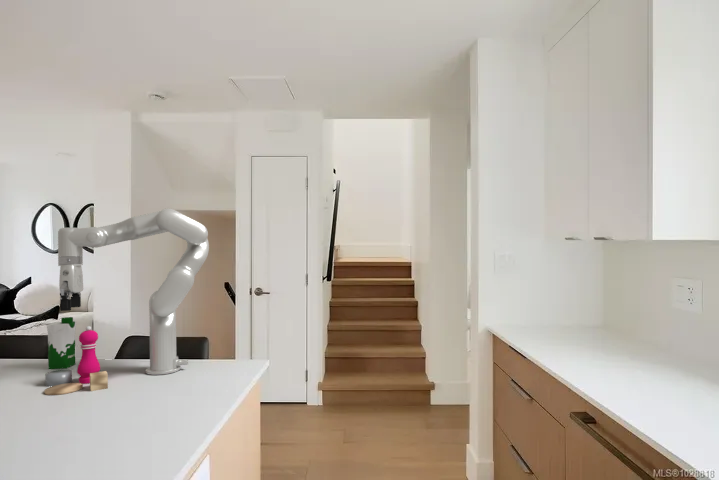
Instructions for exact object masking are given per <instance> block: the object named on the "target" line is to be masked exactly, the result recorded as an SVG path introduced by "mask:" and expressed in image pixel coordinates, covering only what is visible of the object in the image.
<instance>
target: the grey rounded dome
mask: <svg viewBox="0 0 719 480" xmlns="http://www.w3.org/2000/svg"><path fill="white" fill-rule="evenodd" d="M44 378H45V380H44V381H45V382H44V383H45V386H46V387H49V386H50V387H51V386H55V385H60V384H66V383H73V369H70V368H67V369H54V370H50V371H49V372H48V371H47V372H46V373H45V377H44Z"/></svg>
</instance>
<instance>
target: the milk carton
mask: <svg viewBox="0 0 719 480" xmlns="http://www.w3.org/2000/svg"><path fill="white" fill-rule="evenodd" d="M60 319H61V321H56V322H52V323H49V324H47V325H46V330H47V355H48V356H47V357H48V358H47V366H48V367H47V369H48V370H63V369H70V367H73V366H75V365H76V327H77V321H75V320H74V317H72V316H67V317H61V318H60Z"/></svg>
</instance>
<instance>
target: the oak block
mask: <svg viewBox="0 0 719 480" xmlns="http://www.w3.org/2000/svg"><path fill="white" fill-rule="evenodd" d="M108 377H109V375H108V372H107V370H104V371H99V372H96V373H90V383H89V388H90V389H89V390H90V392H95V391H100V390H107V389H108V388H109V386H108V385H109V381H108V380H109V378H108Z"/></svg>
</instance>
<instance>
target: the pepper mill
mask: <svg viewBox="0 0 719 480" xmlns="http://www.w3.org/2000/svg"><path fill="white" fill-rule="evenodd" d="M98 339H99V335H98V332H97V331H96V330H93V329H92V326H90V325H87V326H85V330H83V331H82V332H81V333H80V334H79V337H78V341H79V343H80V349H81V358H80V361H79V363H78V365H77V369H76V370H77V371H76V373H77V375H79V377H78V383H81V384H83V385H84V384H85V385H86V384H90V373H96V372H101V364H100V361H99V360H98V357H97V354H96V348H97V347H98V346H97V344H98V343H97V341H98Z"/></svg>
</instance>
